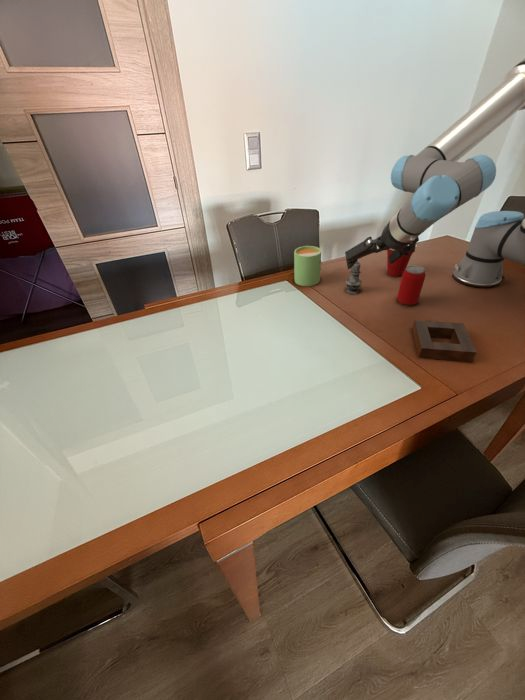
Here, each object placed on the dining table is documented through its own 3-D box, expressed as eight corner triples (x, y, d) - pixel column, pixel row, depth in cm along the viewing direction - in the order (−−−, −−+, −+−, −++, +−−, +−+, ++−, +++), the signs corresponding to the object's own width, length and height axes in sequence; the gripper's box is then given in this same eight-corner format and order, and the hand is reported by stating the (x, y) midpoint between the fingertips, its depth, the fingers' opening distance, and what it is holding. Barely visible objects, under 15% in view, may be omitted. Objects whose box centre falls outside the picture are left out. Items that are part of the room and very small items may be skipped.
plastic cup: (397, 265, 125) (404, 236, 117) (415, 276, 117) (423, 245, 109) (374, 270, 123) (379, 241, 115) (391, 282, 115) (398, 251, 107)
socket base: (459, 332, 89) (463, 323, 87) (471, 362, 80) (476, 352, 78) (411, 329, 92) (414, 320, 90) (418, 357, 83) (421, 347, 80)
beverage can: (417, 297, 106) (426, 265, 98) (417, 307, 101) (427, 274, 93) (396, 295, 108) (403, 263, 100) (396, 305, 103) (404, 272, 95)
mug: (323, 284, 118) (325, 254, 110) (296, 287, 117) (296, 257, 110) (316, 270, 127) (317, 242, 120) (291, 273, 127) (291, 245, 119)
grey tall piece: (361, 294, 110) (366, 263, 102) (344, 294, 111) (348, 263, 103) (360, 286, 114) (365, 256, 106) (344, 286, 115) (348, 256, 108)
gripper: (356, 249, 73) (332, 278, 94) (454, 237, 74) (409, 268, 95) (351, 220, 74) (328, 255, 95) (449, 209, 75) (405, 246, 96)
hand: (369, 262), depth 95 cm, fingers open, 13 cm apart
